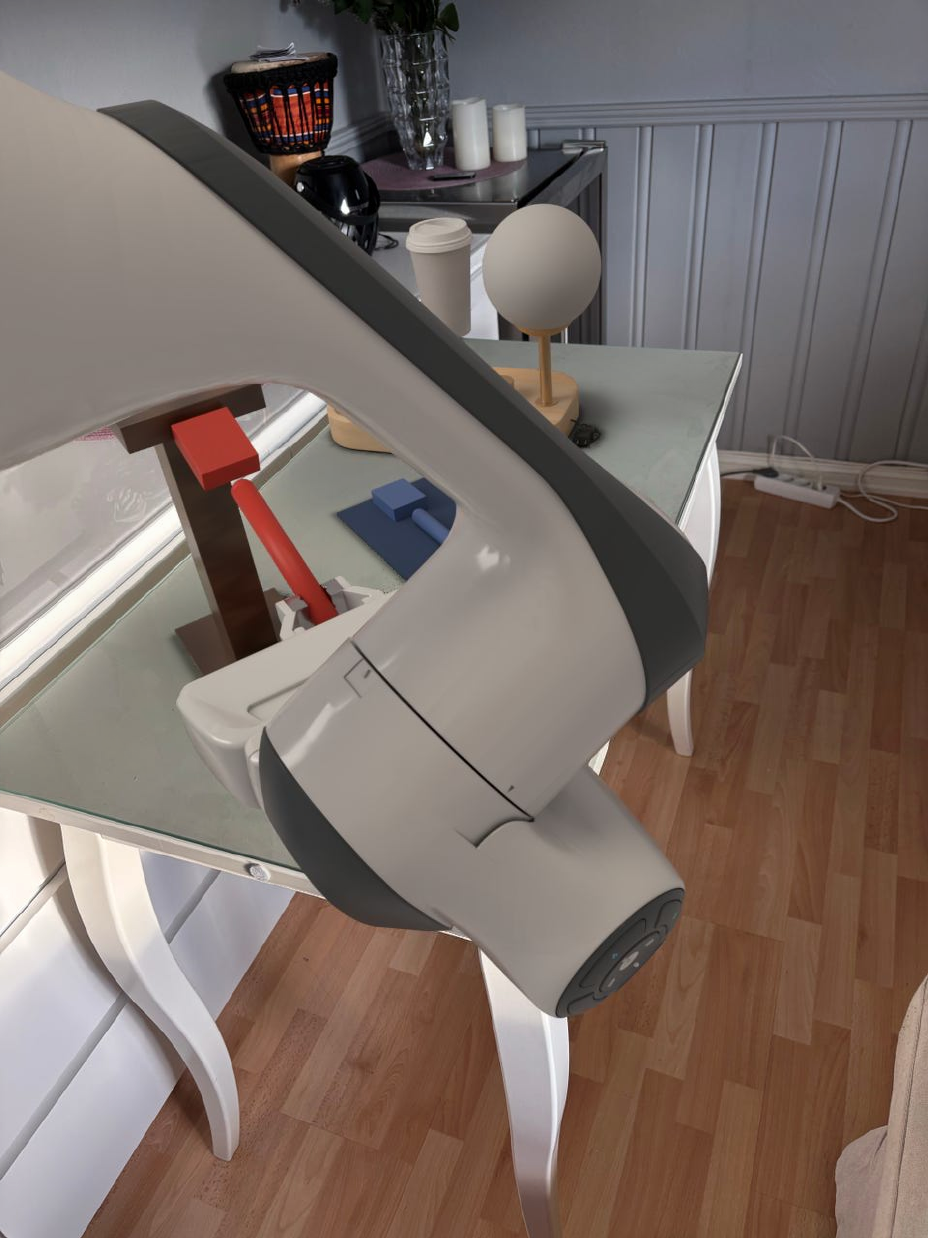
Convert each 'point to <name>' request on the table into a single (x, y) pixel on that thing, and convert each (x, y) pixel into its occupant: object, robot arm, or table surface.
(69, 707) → the table surface
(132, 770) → the table surface
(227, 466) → the red toy mallet
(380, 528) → the blue mat
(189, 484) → the brown stand
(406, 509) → the blue toy mallet
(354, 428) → the lamp
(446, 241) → the coffee cup
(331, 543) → the table surface
